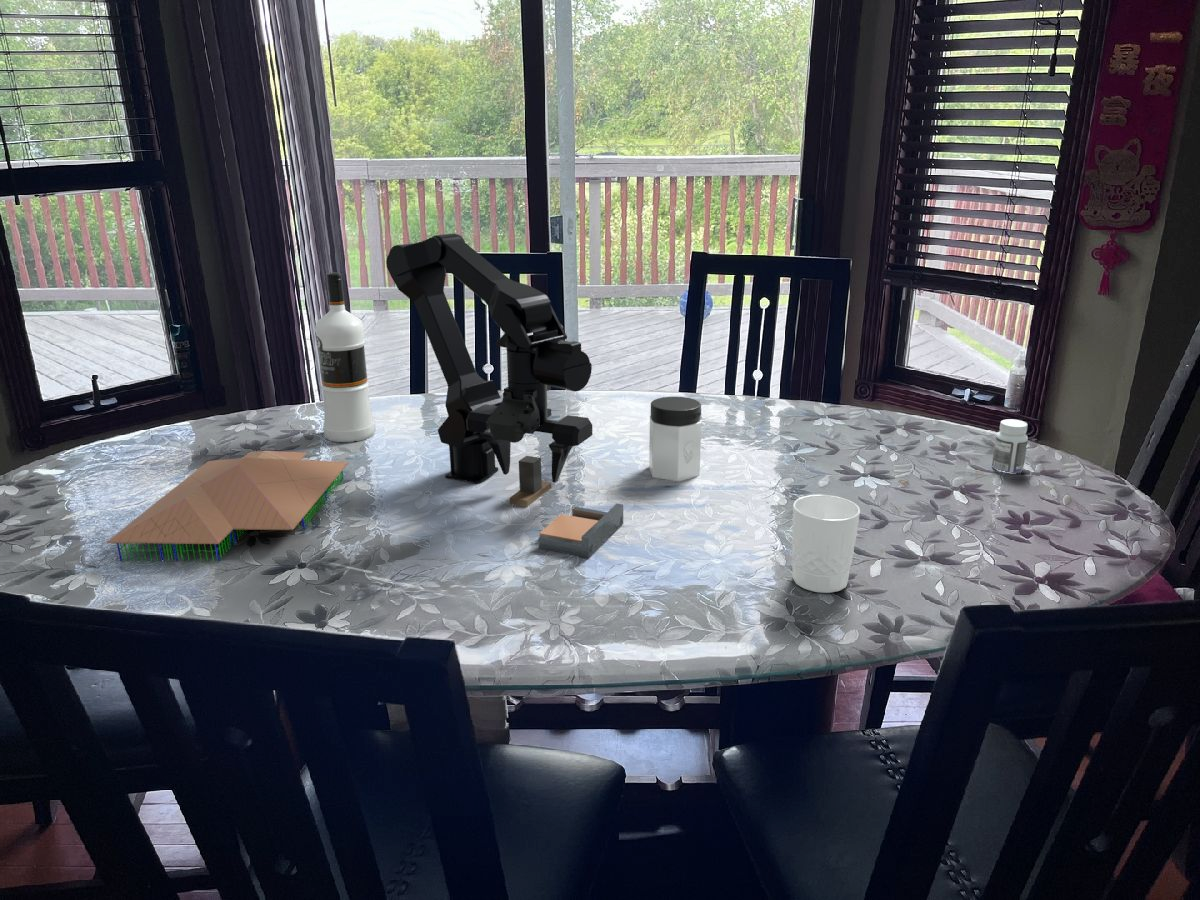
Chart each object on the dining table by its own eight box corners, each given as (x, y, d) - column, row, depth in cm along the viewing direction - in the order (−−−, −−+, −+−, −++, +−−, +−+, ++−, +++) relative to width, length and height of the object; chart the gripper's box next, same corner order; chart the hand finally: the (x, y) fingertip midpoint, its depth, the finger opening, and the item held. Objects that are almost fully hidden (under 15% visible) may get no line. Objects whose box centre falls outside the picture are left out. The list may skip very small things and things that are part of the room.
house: (355, 474, 147) (350, 428, 145) (283, 566, 116) (276, 509, 114) (218, 473, 148) (211, 427, 145) (111, 564, 117) (99, 507, 114)
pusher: (509, 504, 134) (508, 466, 132) (534, 486, 141) (533, 449, 139) (527, 508, 133) (526, 469, 131) (551, 489, 140) (550, 452, 138)
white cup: (780, 567, 115) (785, 495, 111) (840, 564, 115) (846, 493, 112) (798, 597, 107) (804, 521, 104) (862, 594, 108) (870, 518, 104)
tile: (539, 543, 123) (539, 533, 122) (561, 524, 129) (561, 514, 128) (586, 552, 120) (586, 541, 119) (606, 532, 126) (606, 521, 125)
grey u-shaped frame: (538, 548, 120) (537, 528, 119) (575, 515, 130) (575, 496, 129) (588, 558, 117) (588, 537, 116) (623, 523, 127) (623, 504, 126)
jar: (667, 486, 141) (669, 414, 137) (637, 470, 147) (638, 401, 143) (710, 474, 145) (713, 404, 141) (680, 460, 152) (682, 393, 148)
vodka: (380, 440, 162) (364, 274, 152) (327, 447, 159) (308, 278, 148) (371, 426, 170) (356, 267, 160) (321, 432, 167) (303, 270, 156)
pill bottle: (1016, 466, 148) (1024, 418, 145) (1026, 477, 144) (1034, 427, 141) (987, 465, 149) (994, 417, 146) (996, 476, 144) (1003, 426, 141)
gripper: (443, 386, 128) (449, 486, 133) (560, 400, 120) (562, 506, 126) (483, 367, 137) (487, 462, 142) (593, 380, 130) (594, 479, 135)
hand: (530, 477), depth 136 cm, fingers open, 8 cm apart
